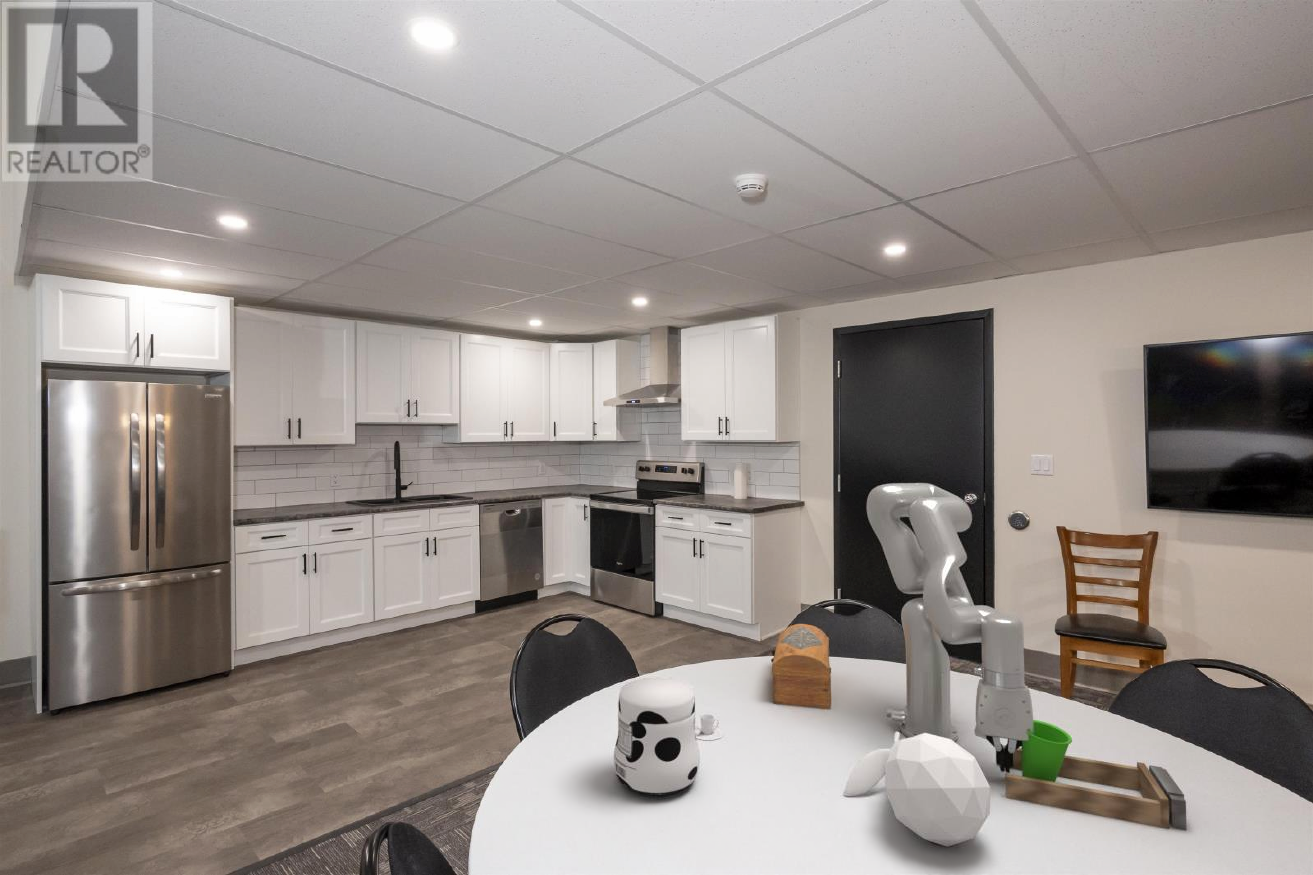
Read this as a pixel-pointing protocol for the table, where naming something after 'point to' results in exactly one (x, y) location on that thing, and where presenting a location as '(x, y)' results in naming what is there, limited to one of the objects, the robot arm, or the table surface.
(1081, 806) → the bay
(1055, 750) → the cup
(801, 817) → the table surface
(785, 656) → the wooden box
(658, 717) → the milk container
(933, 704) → the robot arm
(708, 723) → the teacup and saucer
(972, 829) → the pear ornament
